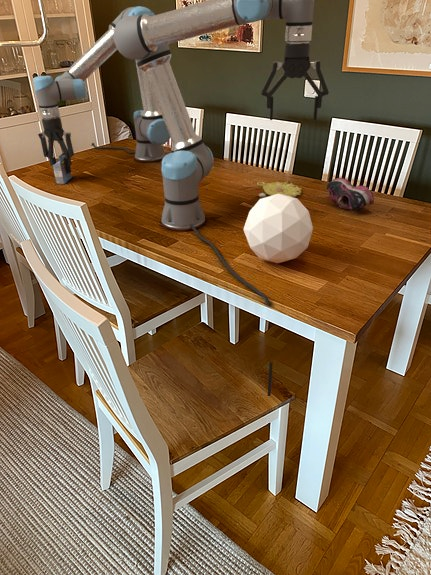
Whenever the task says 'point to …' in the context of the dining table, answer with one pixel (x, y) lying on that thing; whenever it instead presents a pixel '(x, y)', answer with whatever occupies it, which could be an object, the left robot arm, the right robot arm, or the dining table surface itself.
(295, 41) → the right robot arm
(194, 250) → the dining table surface
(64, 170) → the label tape box
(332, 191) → the athletic shoe
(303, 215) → the sphere
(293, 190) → the decorative object
